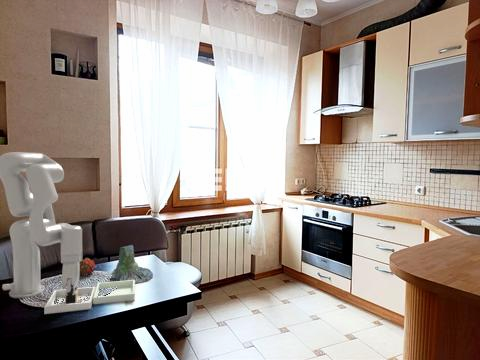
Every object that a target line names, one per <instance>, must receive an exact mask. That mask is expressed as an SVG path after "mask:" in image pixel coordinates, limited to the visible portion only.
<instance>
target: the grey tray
mask: <svg viewBox="0 0 480 360" xmlns="http://www.w3.org/2000/svg"><path fill="white" fill-rule="evenodd" d="M96 287H97V286H88V287H86V286H85V287H77V289H78V296H79V295H80V296H79V300H80V299H82V300H83V299H84V298H85V299H86V298H87V297H88V298H89V297H90V299H89V300H88V301H85V302H84V300H83V301H82V302H81V303H71V304H59V303H62V302H61V301H63V300H62V299H64V301H63V302H65V298H64V297H65V294H66V288H64V289H54V290H53V292H52V294H51V296H50V297H49V299H48V300H47V302H46V304H45V305H44V309H43V310H44V311H43V312H44V313H43V314H44V315H47V314H48V315H49V314H57V313H58V314H59V313H66V312H77V311H84V310H91V309H92V305H93V297H94V293H95V290H96ZM77 289H76V290H77ZM90 293H91V296H88V295H84V294H90ZM81 294H83V295H84V296H83V295H81ZM86 296H87V297H86ZM56 297H58V298H59V299H58V298H57V299H58V300H59V301H57V302H59V303H58V305H57V303H56V304H54V300H55V299H56ZM80 297H81V298H80ZM86 300H87V299H86Z"/></svg>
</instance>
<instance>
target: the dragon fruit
mask: <svg viewBox="0 0 480 360" xmlns="http://www.w3.org/2000/svg"><path fill="white" fill-rule="evenodd" d="M79 265H80V275H82V274H83V276H87V275H86V274H88V275H89V274H92V273H94V272H95V268H96V264H95V261H94V260H93V259H90V258H89V257H85V258H82V261H80V263H79Z"/></svg>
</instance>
